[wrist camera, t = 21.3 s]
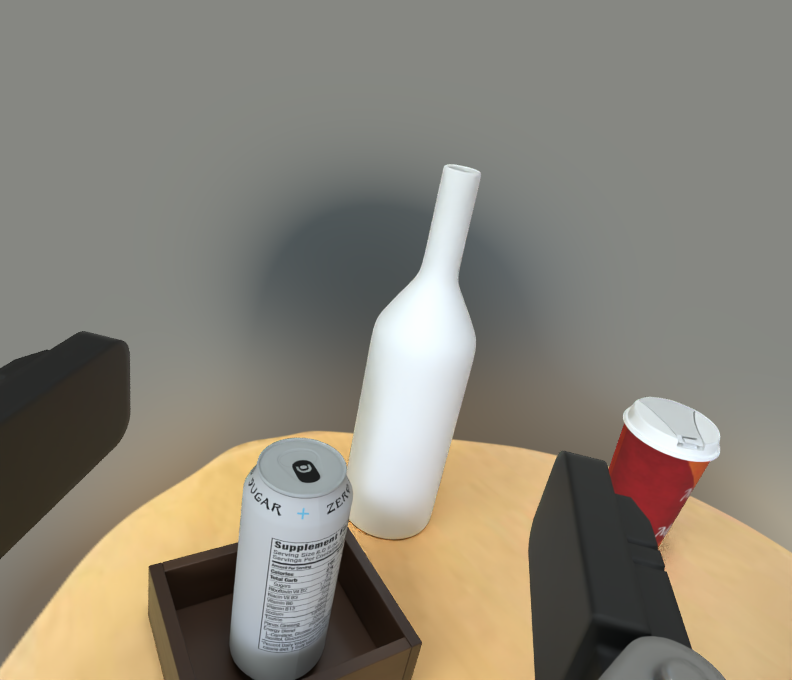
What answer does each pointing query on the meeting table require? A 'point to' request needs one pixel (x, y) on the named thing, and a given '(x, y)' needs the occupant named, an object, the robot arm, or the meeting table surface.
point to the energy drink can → (288, 557)
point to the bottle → (415, 378)
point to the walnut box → (212, 610)
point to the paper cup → (662, 457)
